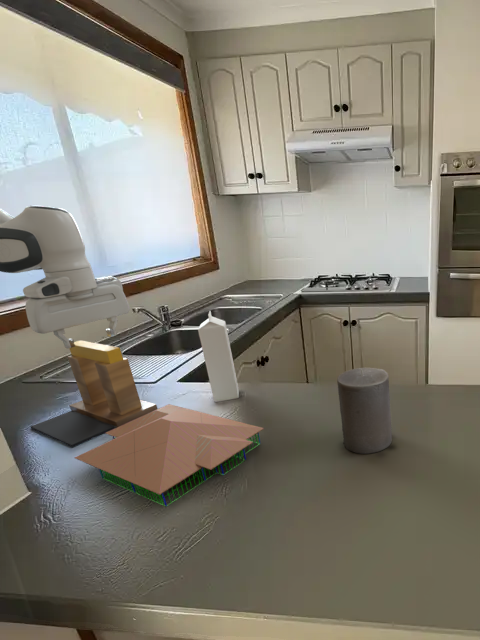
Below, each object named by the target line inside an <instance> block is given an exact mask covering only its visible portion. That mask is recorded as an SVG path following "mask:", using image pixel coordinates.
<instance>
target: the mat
mask: <svg viewBox="0 0 480 640" xmlns="http://www.w3.org/2000/svg"><path fill="white" fill-rule="evenodd" d="M29 427H30V429H31V430H33V431H35V432H38V433H39V434H42V435H44V436H46V437H49V438H51V439H53V440H56V441H57V442H60V443H62V444H64V445H66V446H69V447H71V448H74V447H76V446H79V445H82V444H83V443H86V442H89V441H90V440H93V439H95V438H97V437H99V436H102V435H103V434H104V435H105V433H106V432H108V431H111V430H113V429H115V428H116V427H115V426H112V425H110V424H107V423H104V422H101V421H99V420H96V419H93V418H90V417H88V416H85V415H82V414H79V413H77V412H74V411H71V410H70V411H67V412H65V413H62V414H60V415H56V416H54V417H51V418H49V419H47V420H44V421H41V422H38V423H36V424H33V425H30V426H29Z"/></svg>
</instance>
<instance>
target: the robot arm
mask: <svg viewBox="0 0 480 640" xmlns="http://www.w3.org/2000/svg"><path fill="white" fill-rule="evenodd" d="M85 245H86V244H85V243H84V239H83V237H82V233H81V231H80V229H79V226H78V224H77V222H76V220H75V218H74V216H73V215H72V214H71V212H69V211H68V210H66V209H65V208H62V207H56V206H48V205H47V206H46V205H37V204H36V205H35V204H33V205H28V206H26V207H25V208H24V209H23V210H22V212H20V213H19V214H17V215H16V216H13V215H11V214H9V213H8V212H7V211H6V210H4V209H2V208H0V273H8V274H20V273H23V272H24V273H26V272H31V271H38V270H39V271H41V270H42V271H43V274H44V277H42V278H41V279H39V280H37V281H35V282H33V283H31V284H28V285H27V286H25V287H23V289H22V292H23V295H24V296H25V297H26V298H28V299H27V300H26V302H25V305H24V307H25V313H26V317H27V321H28V324H29V327H30V329H31V330H32V331H33V332H34V333H37V334H42V335H43V334H48V333H52V332H53V335H54V336H55V337H57V338H58V339H59V340H61V341H62V343H63V347H64V348H66V349H68V350H70V349H69V348H72V347H75V344H74V342H75V341H74V339H73V338H68V337H67V336H65V334H66V330H65V329H69V328H73V327H77V326H82V325H86V324H90V323H93V322H99V321H102V320H106V321H107V322H109V324H108V328H106V329H105V333H106V336H107V337H115V336H117V335H118V333H117V330H116V328H117V325H118V321H119V320H118V316H122V315H127V314H129V313H130V310H131V307H130V303H129V301H128V299H127V296H126V294H125V293H124V288H123V284H122V282H121V279H119V278H117V277H114V276H111V275H110V276H106V277H98V278H96V276H95V274H94V271H93V267H92V265H91V263H90V261H89V259H88V258H87V255H86V246H85Z"/></svg>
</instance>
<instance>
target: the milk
mask: <svg viewBox="0 0 480 640" xmlns="http://www.w3.org/2000/svg"><path fill="white" fill-rule="evenodd" d="M207 316H208V318H207V319H206V320H204V321H203V322H201V323H200V324H199V326H198V329H197V332H198V337H199V340H200V345H201V348H202V349H201V350H202V354H203V358H204V359H203V360H204V363H205V368H206V372H207V376H208V381H209V386H210V389H211V394H212V398H213V402H214V403H219V402H223V401H229V400H236V399H239V397H240V396H239V395H240V388H239V383H238V379H237V374H236V367H235V365H234V364H235V362H234V359H233V354H232V349H231V348H232V347H231V343H230V339H229V333H228V328H227V323H226V320H224V319H221V318H218V317H215V316H212V312H211V310H209V312H208V314H207Z"/></svg>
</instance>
